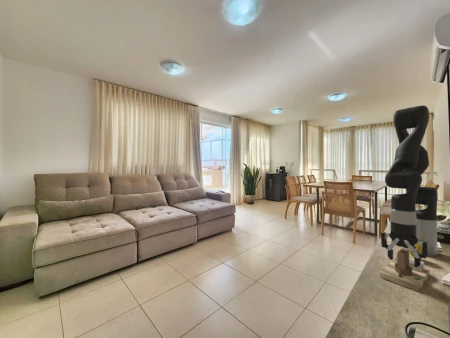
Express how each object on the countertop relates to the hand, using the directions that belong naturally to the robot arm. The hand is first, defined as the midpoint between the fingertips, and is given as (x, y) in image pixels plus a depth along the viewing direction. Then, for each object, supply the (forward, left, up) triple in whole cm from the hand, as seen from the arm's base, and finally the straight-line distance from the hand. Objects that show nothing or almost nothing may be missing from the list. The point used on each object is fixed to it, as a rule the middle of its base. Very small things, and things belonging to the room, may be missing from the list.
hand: (403, 262), depth 75 cm
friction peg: (+1, 0, -4) cm, 4 cm away
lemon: (-24, 0, -6) cm, 25 cm away
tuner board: (-2, 0, -6) cm, 6 cm away
